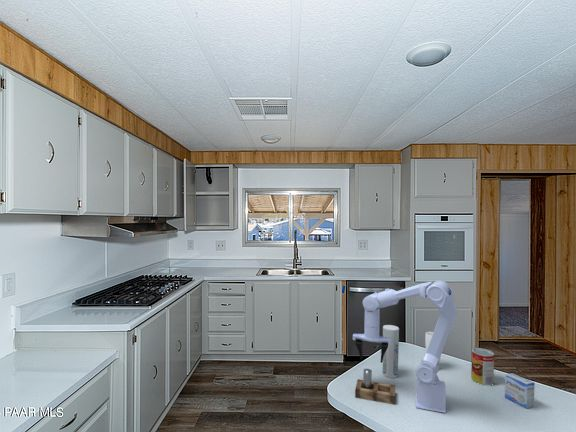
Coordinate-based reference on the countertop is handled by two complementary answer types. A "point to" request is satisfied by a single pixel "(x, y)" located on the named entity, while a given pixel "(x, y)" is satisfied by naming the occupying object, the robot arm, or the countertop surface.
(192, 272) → the countertop surface
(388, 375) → the spray can
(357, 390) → the hole block
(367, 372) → the peg
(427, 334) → the drinking glass
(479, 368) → the canned food
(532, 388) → the medicine box
